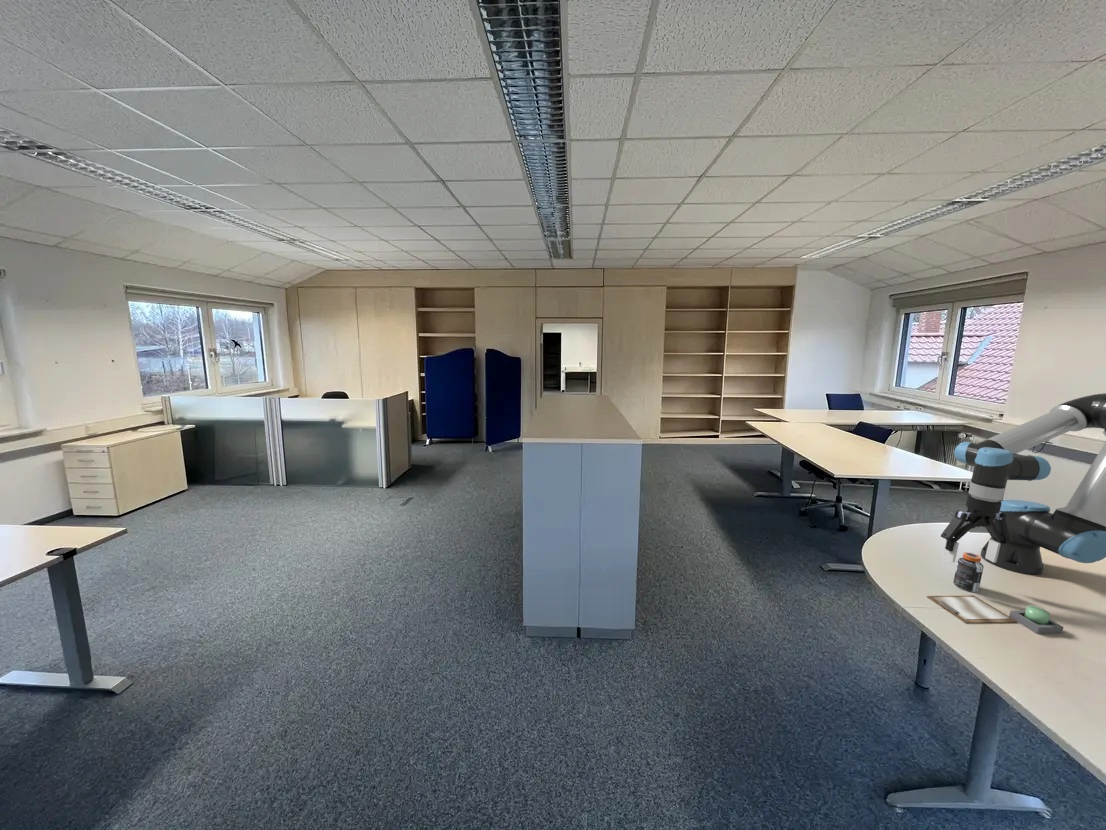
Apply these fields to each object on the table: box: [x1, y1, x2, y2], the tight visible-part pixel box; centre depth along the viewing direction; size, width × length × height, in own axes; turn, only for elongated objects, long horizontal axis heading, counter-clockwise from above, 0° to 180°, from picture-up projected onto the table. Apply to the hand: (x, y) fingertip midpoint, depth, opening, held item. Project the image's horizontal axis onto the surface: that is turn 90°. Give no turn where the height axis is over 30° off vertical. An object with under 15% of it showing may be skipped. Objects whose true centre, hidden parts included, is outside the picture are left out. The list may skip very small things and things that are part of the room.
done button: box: [1024, 605, 1051, 625], centre depth 116 cm, size 4×4×3 cm
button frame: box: [1008, 609, 1064, 635], centre depth 117 cm, size 7×7×2 cm
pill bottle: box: [952, 551, 984, 593], centre depth 134 cm, size 6×6×11 cm
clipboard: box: [926, 594, 1018, 624], centre depth 123 cm, size 15×12×1 cm
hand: (969, 560), depth 133 cm, fingers open, 13 cm apart
